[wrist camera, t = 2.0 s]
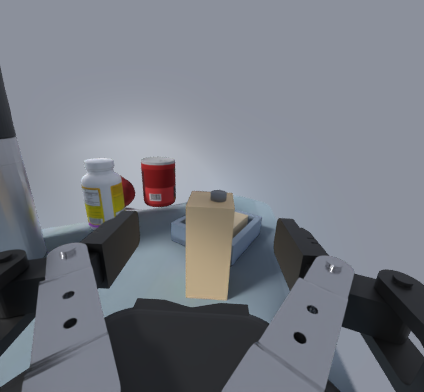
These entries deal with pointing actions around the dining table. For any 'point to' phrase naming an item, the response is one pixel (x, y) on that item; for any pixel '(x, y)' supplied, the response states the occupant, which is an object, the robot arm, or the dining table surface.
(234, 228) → the beige slab
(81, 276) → the robot arm
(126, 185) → the onion
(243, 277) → the dining table surface
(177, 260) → the dining table surface
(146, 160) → the canned food
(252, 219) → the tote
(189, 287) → the carton
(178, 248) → the dining table surface
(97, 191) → the supplement bottle
